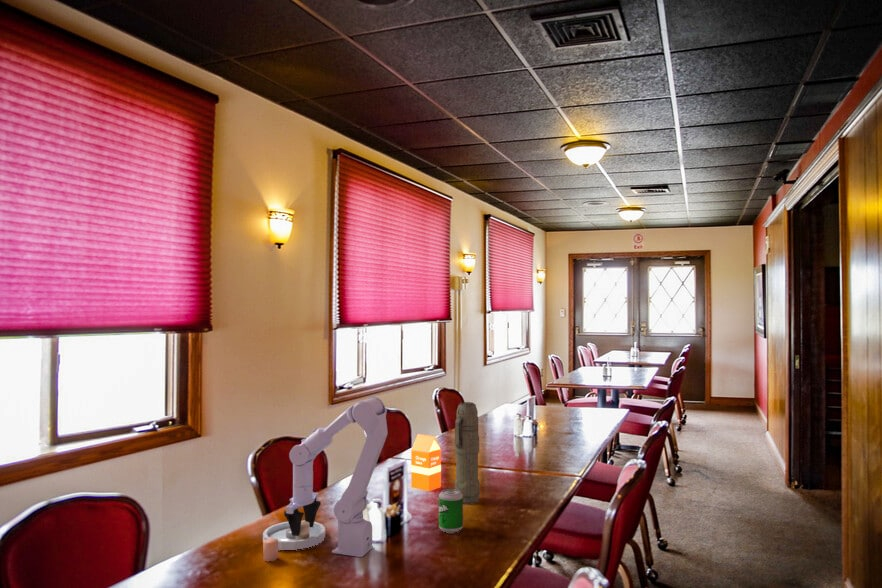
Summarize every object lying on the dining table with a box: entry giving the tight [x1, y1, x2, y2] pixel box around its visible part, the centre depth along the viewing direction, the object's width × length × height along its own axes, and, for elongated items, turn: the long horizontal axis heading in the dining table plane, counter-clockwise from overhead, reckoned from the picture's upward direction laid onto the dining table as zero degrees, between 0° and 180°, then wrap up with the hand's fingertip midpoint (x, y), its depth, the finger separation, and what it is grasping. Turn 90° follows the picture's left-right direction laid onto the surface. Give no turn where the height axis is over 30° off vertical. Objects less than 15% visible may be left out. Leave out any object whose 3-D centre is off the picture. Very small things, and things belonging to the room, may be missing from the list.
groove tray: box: [262, 519, 326, 551], centre depth 190 cm, size 18×18×2 cm
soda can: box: [438, 488, 464, 534], centre depth 198 cm, size 8×8×12 cm
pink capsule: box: [262, 538, 279, 563], centre depth 176 cm, size 4×4×5 cm
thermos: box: [454, 401, 481, 505], centre depth 228 cm, size 9×12×35 cm
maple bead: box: [296, 520, 310, 540], centre depth 186 cm, size 4×4×5 cm
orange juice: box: [410, 433, 442, 492], centre depth 245 cm, size 8×9×20 cm
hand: (302, 530), depth 186 cm, fingers open, 7 cm apart
